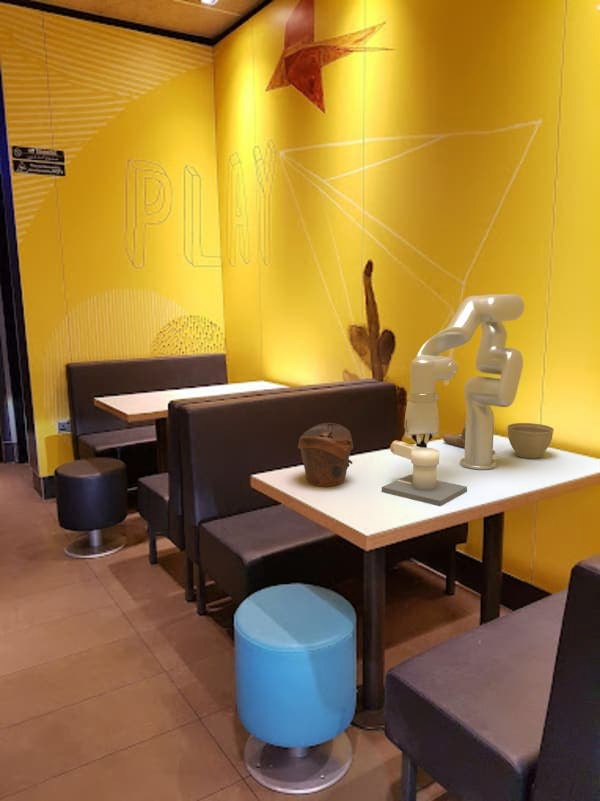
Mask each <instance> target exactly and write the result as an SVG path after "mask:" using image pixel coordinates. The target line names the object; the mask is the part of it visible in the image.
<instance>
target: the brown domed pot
mask: <svg viewBox="0 0 600 801" xmlns="http://www.w3.org/2000/svg"><path fill="white" fill-rule="evenodd" d="M297 449H300V453H301V458H302V463H303V468H304V472H305V480H306V482H307V483H309V484H310V485H312V486H316V487H332V486H333V487H335V486H339V485H341V484H343V483H344V482H345V479H346V476H347V470H348V468H349V467H350V465H353V461H352V460H350V455H351V451H352V450H353V449H354V444H353V438H352V434H351V432H350V430H349V429H348V428H346V427H345V426H343V425H342V424H338V423H336V422H335V423H334V422H325V423H324V422H323V423H319V424H317V425H315V426H313V427H311V428H309V429H308V430H306V431H305V432H304V433H303V434H302V435H301V436H300V437H299V439H298V444H297Z"/></svg>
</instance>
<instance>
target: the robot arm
mask: <svg viewBox="0 0 600 801" xmlns="http://www.w3.org/2000/svg"><path fill="white" fill-rule="evenodd" d="M524 311H525V302H524V299H523V297H522V296H520V295H518V294H515V293H514V294H509V293H507V294H503V293H502V294H501V293H499V294H497V293H495V294H484V295H483V294H482V295H469V296H468V297H466V298H465V299H464V300H463V301H462V303H460V306H459V307H458V309H457V310H456V312H455V313H454V316H453V317H452V319H451V320H450V322H449V323H448V325H447V327H446V328H444V329H443V330H441V331H439V332H437V333H436V334H435V335H433V336H431V337H430V338H429V339H427V340H426V341H425V342H424V343H423V344H422V346H421V347H420V349H419V350H418V352H417V353H416V356H415V358H414V359H412V360H411V363H410V376H409V377H410V383H409V385H410V386H409V388H410V389H409V390H410V393H409V394H410V395H409V401H407V403H406V407H405V414H404V415H405V416H404V430H405V433H404V437H405V438H408V439H412V440H413V441H414V442H416V445H415V446H418V447H421V448H422V447H424V448H428V446H427V445H428V444H429V442H430V440H431V439H433V438H435V437H436V438H438V437H439V436H440V433H439V430H440V425H439V424H440V420H439V418H440V417H439V409H438V403H437V402H436V400H437V399H439V398H440V393H436V381H449V380H451V379H453V378H454V377H455V376H456V374H457V373H458V364H457V362H456V360H455V359H453V358H452V357H449V356H441V355H440V354H442V353H444V352H446V351H448V350H452V349H456V348H458V347H461V346H463V345H466V344H468V343H469V342H470V341H471V340H472V337H473V336H474V335H475V333H476V331H477V329H478V327H479V326H481V337H480V341H479V345H478V350H477V354H476V358H475V369H476V370H477V371H478V372H479V373H481V374H482V373H483V374H487V375H497V376H500V378H499V377H498V378H497V377H490V376H489V377H488V376H472V377H470V378H468V379H467V380H466V382H465V383H464V387H463V394H464V400H465V409H466V410H465V424H466V432H465V448H464V456H463V458H460V460H459V465H461V467H464V468H466V469H467V468H468V469H473V470H492V469H495V468H496V467H498V466H497V465H498V464H497V462H496V461H495V460H494V459H493V456H494V455H496V451H495V450H494V434H495V431H494V430H495V415H494V414H495V413H494V411H493V408H492V407H491V406H493V407H498V408H508V407H511V405H513V403H514V402H515V399H516V397H517V393H518V388H519V384H520V380H521V376H522V372H523V367H524V359H523V355H522V353H521V351H520V350H519V349H517V348H513V347H506V345H507V340H508V333H507V329H506V327H505V326H504V324H503V322H511V321H516V320H518V319H520V318H521V317H522V315H523V313H524ZM421 435H422V438H421Z"/></svg>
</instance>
